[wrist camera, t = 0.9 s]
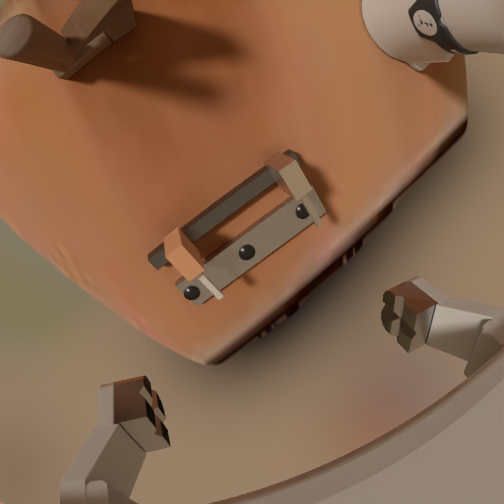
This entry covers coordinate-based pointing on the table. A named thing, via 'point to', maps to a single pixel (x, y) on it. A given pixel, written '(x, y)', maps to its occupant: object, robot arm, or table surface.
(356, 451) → the robot arm
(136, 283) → the table surface
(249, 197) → the rail
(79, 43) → the brown angular bracket
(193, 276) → the block
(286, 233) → the hole strip
